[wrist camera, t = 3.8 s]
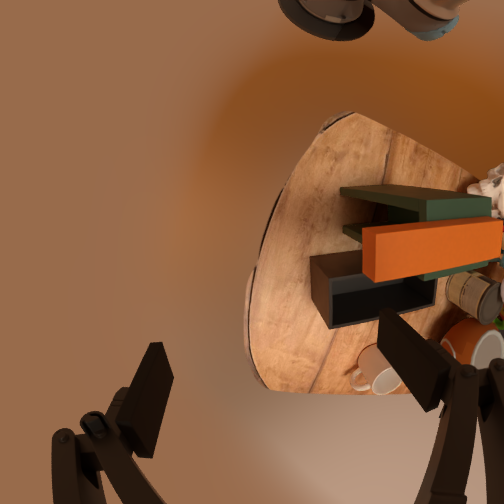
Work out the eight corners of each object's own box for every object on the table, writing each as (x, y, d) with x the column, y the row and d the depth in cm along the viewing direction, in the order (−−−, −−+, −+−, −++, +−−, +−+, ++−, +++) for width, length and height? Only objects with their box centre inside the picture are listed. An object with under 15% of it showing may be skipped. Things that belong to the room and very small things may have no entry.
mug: (348, 381, 64) (361, 408, 54) (339, 361, 62) (352, 387, 52) (389, 359, 63) (406, 382, 53) (382, 336, 61) (401, 360, 51)
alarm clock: (458, 331, 46) (515, 310, 41) (433, 321, 63) (484, 306, 58) (458, 409, 43) (514, 385, 38) (437, 386, 60) (486, 369, 55)
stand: (342, 233, 55) (423, 281, 28) (339, 187, 52) (426, 200, 25) (393, 227, 55) (487, 265, 28) (392, 184, 53) (491, 197, 25)
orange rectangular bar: (362, 272, 27) (374, 283, 24) (361, 227, 26) (375, 233, 23) (485, 250, 27) (500, 257, 24) (487, 216, 26) (503, 220, 23)
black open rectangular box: (311, 299, 58) (329, 329, 45) (309, 256, 55) (328, 278, 43) (403, 283, 58) (434, 305, 46) (405, 243, 56) (439, 259, 43)
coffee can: (470, 258, 58) (506, 275, 44) (472, 292, 60) (504, 312, 47) (443, 275, 58) (479, 296, 45) (446, 309, 61) (478, 333, 47)
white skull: (457, 161, 50) (522, 143, 37) (467, 200, 63) (520, 186, 49) (473, 214, 45) (544, 196, 32) (477, 245, 58) (534, 231, 45)
